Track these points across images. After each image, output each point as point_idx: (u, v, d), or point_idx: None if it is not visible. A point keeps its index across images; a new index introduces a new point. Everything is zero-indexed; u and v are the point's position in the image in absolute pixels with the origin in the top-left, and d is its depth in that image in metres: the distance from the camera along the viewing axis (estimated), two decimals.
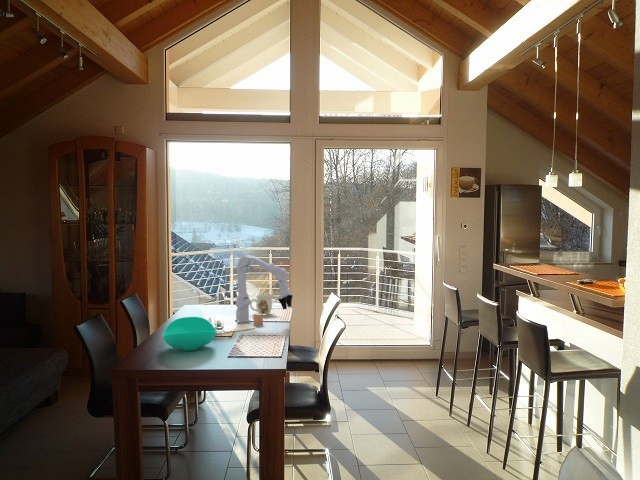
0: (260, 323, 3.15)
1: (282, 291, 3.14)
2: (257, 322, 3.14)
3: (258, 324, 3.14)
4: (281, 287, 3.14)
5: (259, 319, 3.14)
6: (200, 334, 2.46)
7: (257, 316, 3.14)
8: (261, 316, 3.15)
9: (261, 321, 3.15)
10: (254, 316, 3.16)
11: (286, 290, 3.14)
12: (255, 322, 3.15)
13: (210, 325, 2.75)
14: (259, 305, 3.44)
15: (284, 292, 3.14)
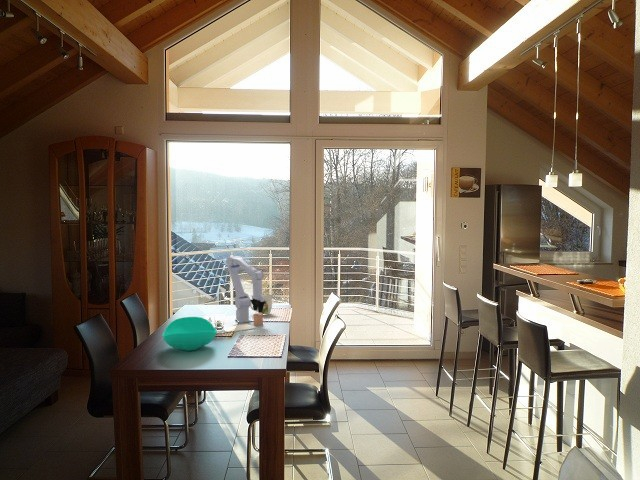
0: (260, 323, 3.15)
1: (259, 294, 3.13)
2: (257, 322, 3.14)
3: (258, 324, 3.14)
4: (253, 290, 3.14)
5: (259, 319, 3.14)
6: (200, 334, 2.46)
7: (257, 316, 3.14)
8: (261, 316, 3.15)
9: (261, 321, 3.15)
10: (254, 316, 3.16)
11: (261, 293, 3.15)
12: (255, 322, 3.15)
13: (210, 325, 2.75)
14: None
15: (260, 295, 3.14)
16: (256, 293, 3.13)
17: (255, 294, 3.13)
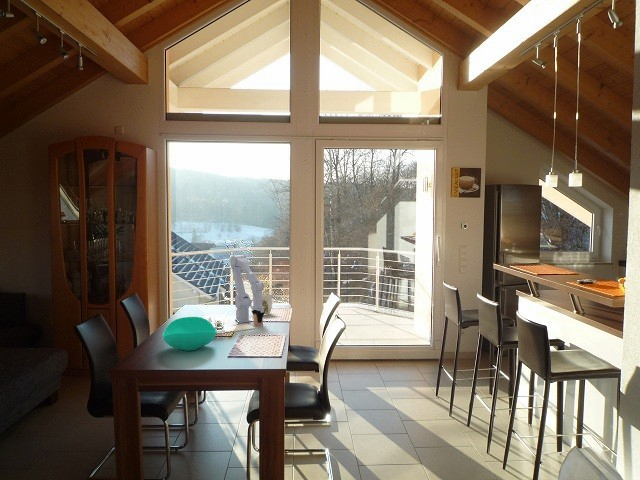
0: (260, 323, 3.15)
1: (259, 305, 3.13)
2: (257, 322, 3.14)
3: (258, 324, 3.14)
4: (254, 301, 3.14)
5: None
6: (200, 334, 2.46)
7: None
8: None
9: None
10: (254, 316, 3.16)
11: None
12: (255, 322, 3.15)
13: (210, 325, 2.75)
14: None
15: (261, 306, 3.14)
16: (256, 304, 3.13)
17: (255, 305, 3.13)
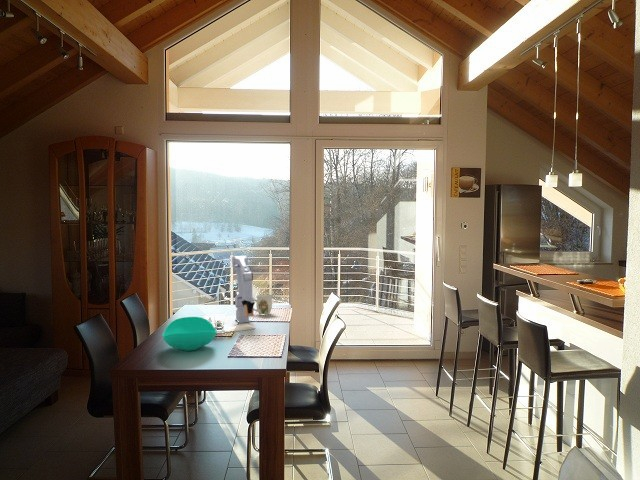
0: (251, 314, 3.10)
1: (249, 295, 3.09)
2: (247, 313, 3.09)
3: (249, 315, 3.10)
4: (243, 291, 3.10)
5: None
6: (200, 334, 2.46)
7: None
8: None
9: (252, 311, 3.11)
10: (244, 307, 3.11)
11: None
12: (245, 313, 3.10)
13: (210, 325, 2.75)
14: (259, 305, 3.44)
15: (251, 296, 3.09)
16: (246, 294, 3.08)
17: (245, 295, 3.08)
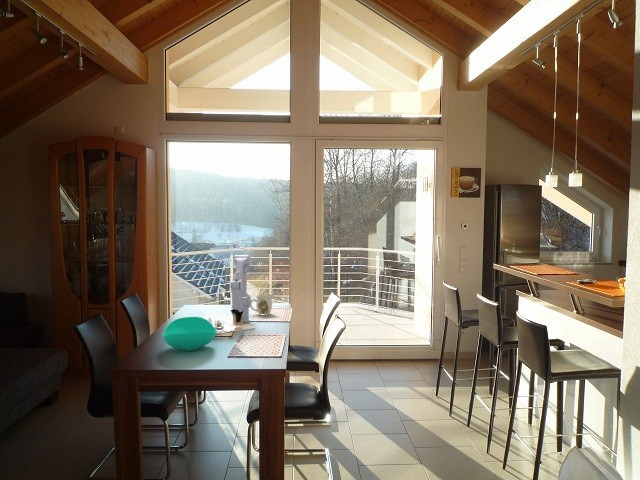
0: (239, 323, 3.06)
1: (238, 304, 3.04)
2: (236, 322, 3.04)
3: (237, 324, 3.05)
4: None
5: None
6: (200, 334, 2.46)
7: None
8: (241, 316, 3.06)
9: (241, 320, 3.06)
10: (234, 315, 3.06)
11: (241, 303, 3.06)
12: (234, 322, 3.05)
13: (210, 325, 2.75)
14: (259, 305, 3.44)
15: (239, 305, 3.05)
16: (235, 303, 3.04)
17: (234, 304, 3.04)
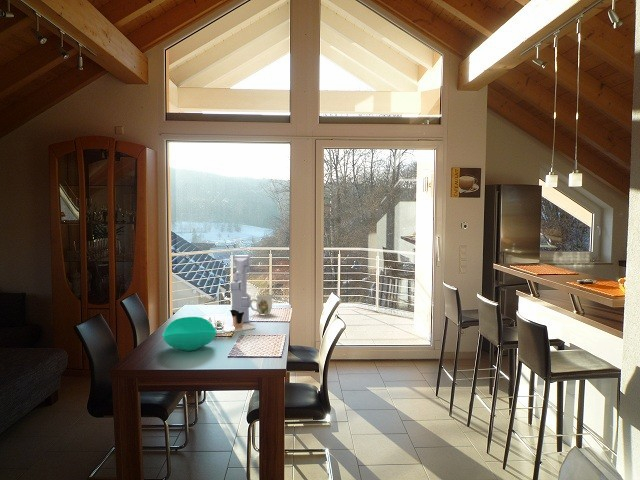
0: (239, 326, 3.06)
1: (238, 305, 3.04)
2: (236, 324, 3.05)
3: (237, 327, 3.05)
4: None
5: None
6: (200, 334, 2.46)
7: None
8: None
9: (241, 323, 3.06)
10: (233, 318, 3.07)
11: (241, 304, 3.06)
12: (234, 325, 3.06)
13: (210, 325, 2.75)
14: (259, 305, 3.44)
15: (239, 306, 3.05)
16: (235, 304, 3.04)
17: (234, 305, 3.04)
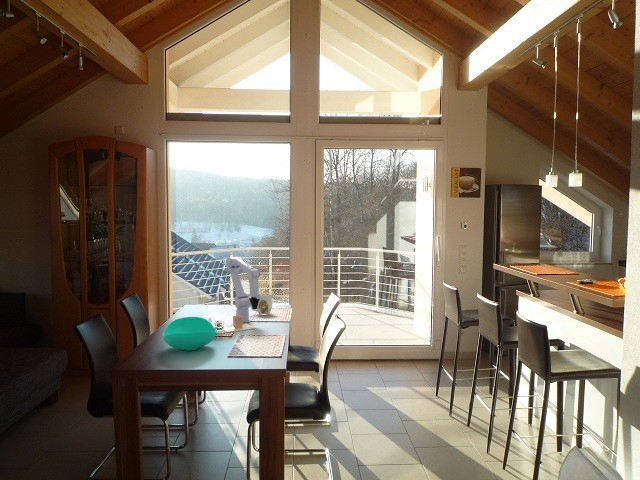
0: (239, 326, 3.06)
1: (255, 292, 3.13)
2: (236, 324, 3.05)
3: (237, 327, 3.05)
4: (250, 287, 3.13)
5: (238, 322, 3.05)
6: (200, 334, 2.46)
7: (236, 318, 3.04)
8: (240, 318, 3.06)
9: (241, 323, 3.06)
10: (233, 318, 3.07)
11: (258, 291, 3.15)
12: (234, 325, 3.06)
13: (210, 325, 2.75)
14: (259, 305, 3.44)
15: (257, 293, 3.13)
16: (253, 291, 3.12)
17: (252, 292, 3.12)
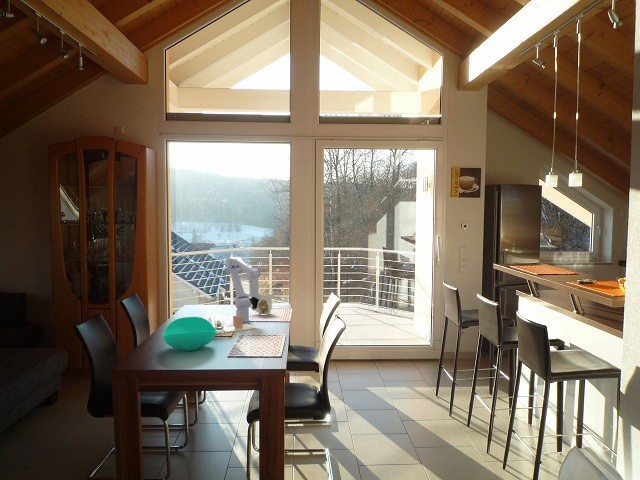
0: (239, 326, 3.06)
1: (255, 292, 3.13)
2: (236, 324, 3.05)
3: (237, 327, 3.05)
4: (250, 287, 3.13)
5: (238, 322, 3.05)
6: (200, 334, 2.46)
7: (236, 318, 3.04)
8: (240, 318, 3.06)
9: (241, 323, 3.06)
10: (233, 318, 3.07)
11: (258, 291, 3.15)
12: (234, 325, 3.06)
13: (210, 325, 2.75)
14: (259, 305, 3.44)
15: (257, 293, 3.13)
16: (253, 291, 3.12)
17: (252, 292, 3.12)
